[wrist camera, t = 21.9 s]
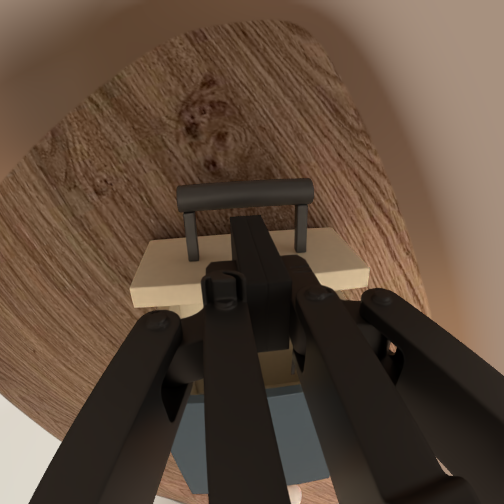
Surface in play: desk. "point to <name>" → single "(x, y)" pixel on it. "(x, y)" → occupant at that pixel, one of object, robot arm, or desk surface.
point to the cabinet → (286, 430)
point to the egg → (294, 494)
